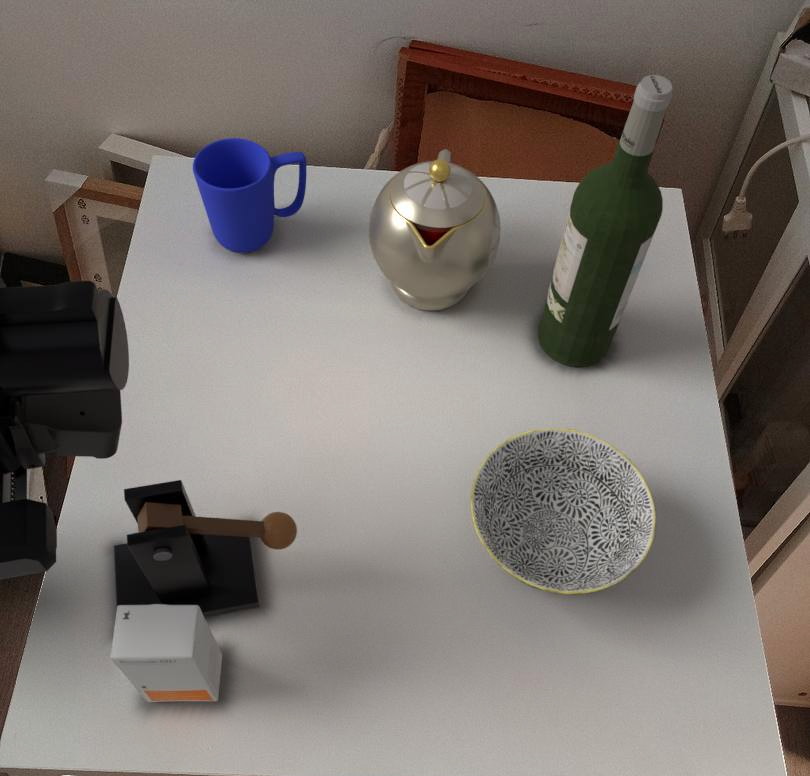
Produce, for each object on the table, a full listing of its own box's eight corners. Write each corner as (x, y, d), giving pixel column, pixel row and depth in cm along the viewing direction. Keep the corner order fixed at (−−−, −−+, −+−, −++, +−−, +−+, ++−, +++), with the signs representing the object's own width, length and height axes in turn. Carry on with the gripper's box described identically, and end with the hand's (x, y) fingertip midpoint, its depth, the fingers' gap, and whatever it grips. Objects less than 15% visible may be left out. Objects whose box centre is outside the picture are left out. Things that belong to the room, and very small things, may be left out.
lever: (285, 524, 73) (300, 506, 70) (290, 556, 71) (305, 539, 69) (135, 513, 66) (146, 493, 64) (137, 549, 64) (149, 529, 62)
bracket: (248, 528, 77) (227, 455, 66) (259, 607, 73) (239, 544, 62) (117, 550, 75) (72, 480, 64) (121, 633, 72) (75, 573, 60)
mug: (321, 243, 95) (316, 171, 86) (219, 269, 93) (203, 198, 84) (299, 196, 99) (292, 122, 90) (200, 220, 96) (183, 147, 88)
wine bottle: (534, 310, 91) (599, 51, 65) (605, 312, 91) (698, 54, 65) (539, 367, 87) (611, 116, 61) (613, 369, 88) (716, 120, 61)
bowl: (653, 613, 74) (680, 579, 68) (479, 635, 73) (490, 603, 66) (607, 462, 82) (627, 419, 75) (449, 479, 80) (456, 436, 74)
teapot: (484, 343, 89) (506, 225, 74) (359, 327, 89) (357, 207, 75) (497, 225, 98) (518, 100, 83) (383, 211, 98) (385, 84, 84)
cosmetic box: (147, 704, 69) (106, 659, 58) (153, 654, 71) (115, 602, 60) (220, 703, 69) (193, 658, 58) (225, 653, 71) (199, 601, 61)
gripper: (99, 493, 46) (162, 598, 59) (89, 251, 55) (146, 391, 68) (-114, 527, 44) (0, 628, 58) (-89, 273, 53) (5, 412, 67)
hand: (45, 505), depth 63 cm, fingers open, 9 cm apart
